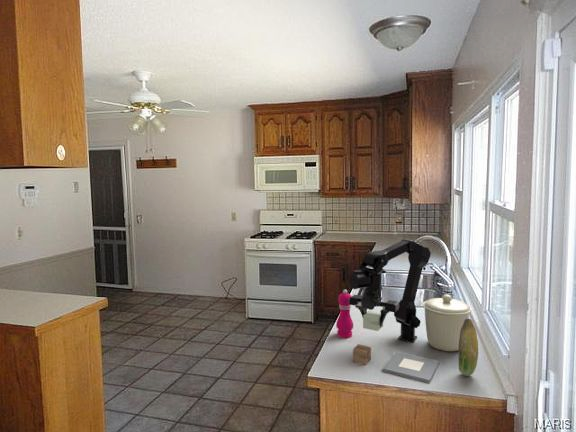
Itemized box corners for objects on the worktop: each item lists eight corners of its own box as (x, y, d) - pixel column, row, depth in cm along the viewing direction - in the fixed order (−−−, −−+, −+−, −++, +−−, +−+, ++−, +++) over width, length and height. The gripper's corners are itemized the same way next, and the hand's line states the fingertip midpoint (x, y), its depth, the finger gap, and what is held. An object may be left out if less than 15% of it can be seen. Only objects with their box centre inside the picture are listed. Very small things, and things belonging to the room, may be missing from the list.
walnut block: (358, 356, 154) (358, 344, 153) (370, 359, 151) (371, 347, 151) (352, 362, 149) (353, 349, 149) (366, 365, 147) (366, 352, 146)
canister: (466, 339, 169) (468, 290, 167) (473, 358, 152) (476, 303, 150) (420, 335, 174) (421, 287, 172) (422, 353, 156) (424, 299, 154)
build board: (395, 353, 156) (395, 351, 156) (439, 363, 148) (439, 360, 148) (382, 371, 142) (382, 368, 142) (429, 382, 134) (429, 379, 134)
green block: (368, 323, 164) (368, 311, 163) (383, 326, 161) (383, 313, 160) (363, 328, 159) (363, 315, 158) (377, 331, 155) (378, 318, 155)
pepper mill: (340, 339, 170) (340, 292, 168) (333, 333, 177) (333, 288, 175) (356, 337, 172) (356, 291, 170) (349, 331, 179) (349, 286, 177)
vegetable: (479, 375, 139) (482, 318, 137) (473, 382, 134) (476, 324, 132) (461, 370, 143) (463, 314, 141) (454, 376, 138) (457, 319, 136)
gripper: (343, 286, 156) (342, 326, 157) (391, 294, 146) (390, 336, 148) (354, 280, 165) (353, 317, 167) (400, 286, 156) (399, 326, 157)
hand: (373, 324), depth 159 cm, fingers closed on green block, 6 cm apart
